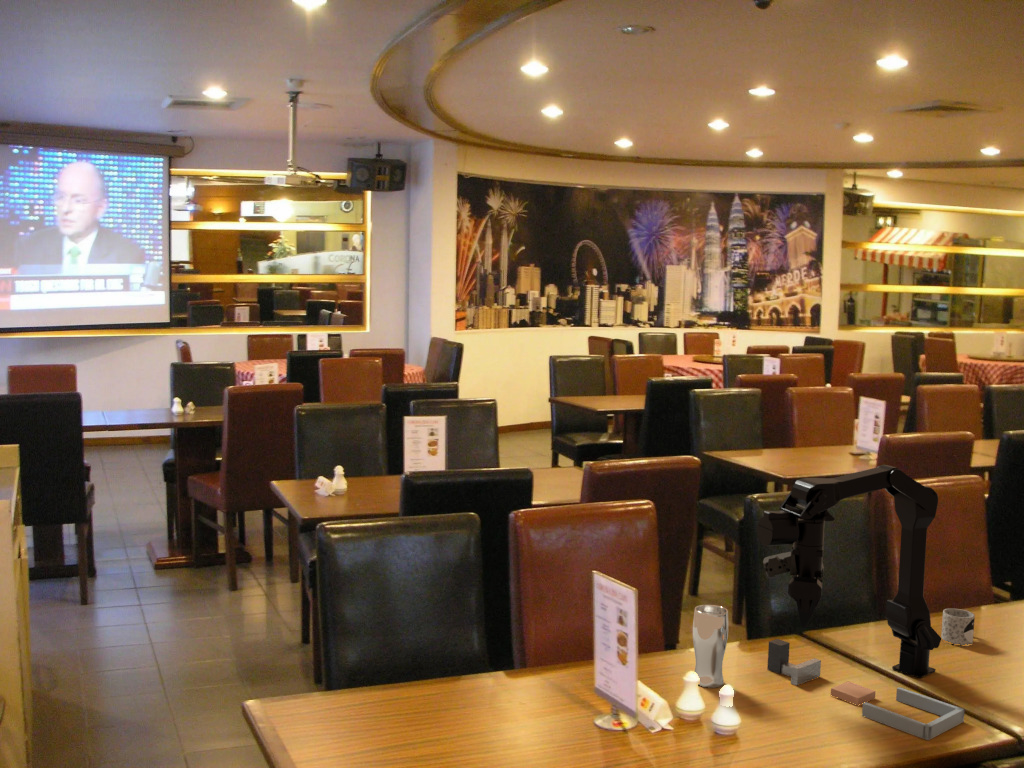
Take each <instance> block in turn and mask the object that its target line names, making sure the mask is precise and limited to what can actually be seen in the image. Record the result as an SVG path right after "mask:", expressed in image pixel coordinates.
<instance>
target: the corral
mask: <svg viewBox="0 0 1024 768" xmlns="http://www.w3.org/2000/svg"><path fill="white" fill-rule="evenodd" d="M895 694H896V695H895V696H896V697H895V701H897V702H900V703H903V704H906V705H908V706H911V707H914V708H916V709H917V708H918V709H920V710H923V711H926V712H929V713H931V714H934V715H936V716H940V717H937V718H935V719H934V720H932V721H930V722H928V723H924V722H921V721H919V720H916V719H913V718H911V717H908V716H906V715H902V714H900V713H897V712H894V711H891V710H889V709H886V708H883V707H881V706H877V705H875V704H872V703H869V702H865V703H863V704H862V713H861V714H862V715H861V716H862V717H864V716H865V718H866V719H869V720H872V721H875V722H878V723H881V724H882V725H886V726H888V727H891V728H894V729H896V730H899V731H902V732H904V733H907V734H910V735H913V736H914V737H917V738H920V739H923V740H926V741H930V740H932V739H934V738H936V737H937V736H939V735H942V734H943V733H945V732H947V731H949V730H952V729H953V728H955V727H956V726H959V725H960V724H962V723H964V722H965V710H966V709H965V708H963V707H960V706H956V705H954V704H953V705H952V704H950V703H947V702H944V701H941V700H938V699H936V698H932V697H930V696H927V695H924V694H920V693H917V692H915V691H912V690H909V689H905V688H903V687H897V688H896V693H895Z"/></svg>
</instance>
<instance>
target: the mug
mask: <svg viewBox="0 0 1024 768" xmlns="http://www.w3.org/2000/svg"><path fill="white" fill-rule="evenodd" d="M975 616H976V615H975V613H973V612H972V611H969V610H966V609H960V608H945V609H943V610H942V621H941V622H942V623H941V635H940V637H941V638H942V639H943V640H945V641H948V642H951V643H953V644H960V645H965V644H967V645H968V644H972V643H973V644H974V632H975V618H976V617H975Z"/></svg>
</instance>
